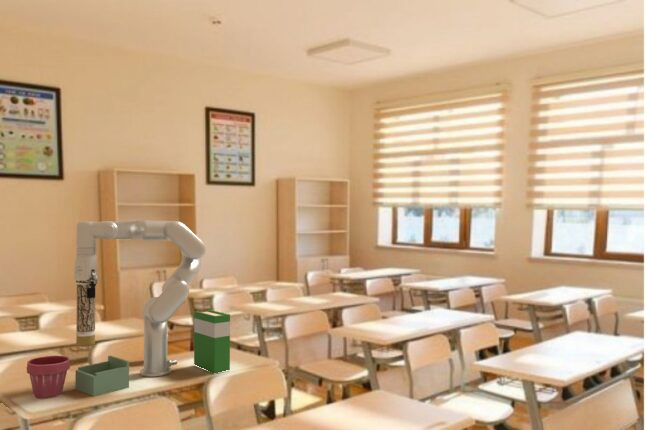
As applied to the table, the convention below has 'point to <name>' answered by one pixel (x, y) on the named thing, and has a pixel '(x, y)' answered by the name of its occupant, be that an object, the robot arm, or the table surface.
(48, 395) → the plant pot
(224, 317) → the green cereal box
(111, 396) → the table surface
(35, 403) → the table surface
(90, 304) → the wooden log
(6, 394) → the table surface
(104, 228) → the robot arm
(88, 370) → the open box
